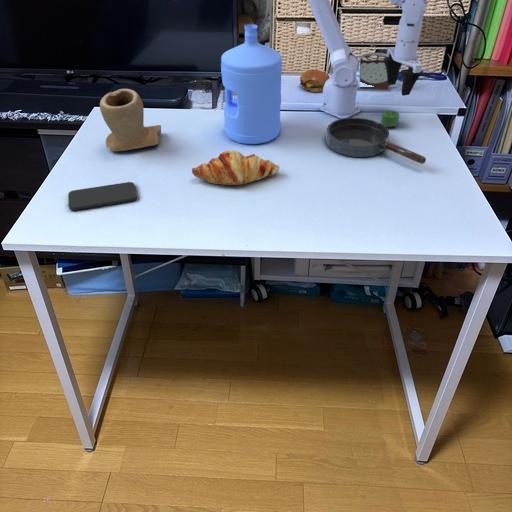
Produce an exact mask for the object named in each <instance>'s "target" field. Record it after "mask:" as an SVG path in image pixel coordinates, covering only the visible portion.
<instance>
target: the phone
mask: <svg viewBox="0 0 512 512" xmlns="http://www.w3.org/2000/svg"><path fill="white" fill-rule="evenodd" d="M67 197H68V199H67V200H68V208H69V210H70V211H78V210H84V209H90V208H91V209H92V208H97V207H103V206H109V205H115V204H121V203H122V204H123V203H128V202H134V201H136V200H137V198H138V195H137V191H136V187H135V183H134V182H133V181H126V182H120V183H114V184H113V183H112V184H106V185H101V186H93V187H87V188H80V189H73V190H70V191H69V192H68V196H67Z"/></svg>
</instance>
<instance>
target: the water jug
mask: <svg viewBox="0 0 512 512" xmlns="http://www.w3.org/2000/svg"><path fill="white" fill-rule="evenodd" d="M258 35H259V33H258V25H257V24H252V23H249V24H248V23H247V24H244V42H243V43H242V44H239V45H237V46H234V47H232V48H230V49H228V50H226V51H225V52H223V53H222V55H221V57H220V62H221V63H220V70H221V80H222V81H221V82H222V85H223V87H224V95H225V96H224V97H225V104H224V106H223V118H224V122H223V131H224V133H225V135H226V136H227V137H228V138H229V139H230V140H232V141H233V142H236V143H240V144H244V145H259V144H265V143H268V142H270V141H272V140H274V139H276V138H277V137H278V136H279V135H280V132H281V105H282V73H283V62H282V61H283V59H282V55H281V53H280V52H279V51H278V50H276V49H273V48H271V47H269V46H267V45H264V44H263V43H262V44H261V43H259V41H258ZM232 92H233V93H235V94H236V98H233V93H232Z"/></svg>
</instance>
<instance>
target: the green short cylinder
mask: <svg viewBox="0 0 512 512" xmlns="http://www.w3.org/2000/svg"><path fill="white" fill-rule="evenodd" d="M399 119H400V113H399V112H398V111H396V110H392V109H391V110H389V109H387V110H383V111H382V112H381V117H380V123H381V124H382V125H384V126H385V127H386V128H393V127H395V126H398V123H399Z"/></svg>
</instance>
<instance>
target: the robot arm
mask: <svg viewBox="0 0 512 512" xmlns="http://www.w3.org/2000/svg"><path fill="white" fill-rule="evenodd" d="M427 1H428V0H387V2H390V3H391V4H393V5H395V6H396V7H401V10H402V12H401V17H400V19H399V23H398V29H397V34H396V40H395V46H393V47H388V48H387V50H386V54H387V55H388V56H389V57H388V58H385V59H384V63H385V66H386V71H387V81H388V85H390V86H393V85H396V83H397V81H398V77H399V74H400V73H401V82H402V84H401V95H402V96H404V97H405V96H410V94H411V92H412V90H413V88H414V86H415V85H416V83H417V81H418V79H419V78H420V77H421V76H422V75H423V74H424V70H422V69H423V64H422V63H421V62H420V61H419V58H420V55H419V54H417V53H418V48H419V47H418V46H419V40H420V38H421V37H420V36H421V31H422V26H423V19H424V12H425V11H426V10H427V8H428V7H427V6H428V5H427V3H428V2H427ZM307 3H308V5H309V7H310V10H311V12H312V15H313V17H314V19H315V22H316V24H317V27H318V29H319V32H320V34H321V36H322V39H323V41H324V43H325V46H326V48H327V50H328V53H329V56H330V57H329V58H330V65H331V67H332V77H329V79H328V80H327V81H326V83H325V85H324V87H323V91H322V98H321V107H319V110H320V111H322V112H324V113H327V114H329V115H332V116H333V117H336V118H339V119H342V118H350V117H352V116H354V115H357V114H358V113H360V112H361V109H359V108H357V107H356V106H355V105H356V100H357V92H358V86H359V85H358V84H359V81H358V80H359V79H358V78H357V73H358V71H359V70H360V62H359V57H357V55H355V54H354V53H353V52H352V49H351V47H350V46H349V45H348V44H347V42H346V40H345V36H344V34H343V32H342V30H341V26H340V24H339V22H338V19H337V17H336V15H335V12H334V10H333V7H332V3H331V2H330V0H307ZM403 65H404V66H405V67H407V68H406V69H401V68H402V66H403Z"/></svg>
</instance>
